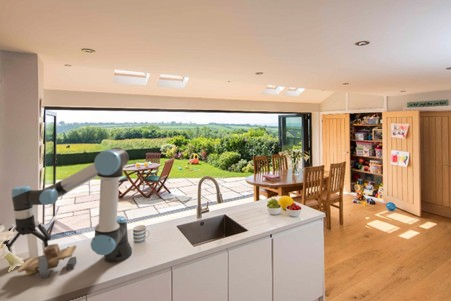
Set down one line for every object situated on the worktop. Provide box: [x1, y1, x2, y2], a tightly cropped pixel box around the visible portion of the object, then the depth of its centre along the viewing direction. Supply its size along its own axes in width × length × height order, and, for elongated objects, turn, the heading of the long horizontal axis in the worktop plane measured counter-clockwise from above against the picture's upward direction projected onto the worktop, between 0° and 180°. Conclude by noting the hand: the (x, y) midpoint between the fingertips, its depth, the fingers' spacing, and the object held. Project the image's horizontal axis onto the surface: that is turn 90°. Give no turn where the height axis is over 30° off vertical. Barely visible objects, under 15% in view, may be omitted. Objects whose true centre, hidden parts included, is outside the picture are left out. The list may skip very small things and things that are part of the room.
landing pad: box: [66, 256, 77, 271], centre depth 136 cm, size 3×7×4 cm, turn 18°
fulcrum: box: [38, 243, 55, 280], centre depth 132 cm, size 4×15×11 cm, turn 19°
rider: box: [44, 243, 61, 259], centre depth 132 cm, size 5×5×5 cm
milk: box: [26, 220, 45, 259], centre depth 145 cm, size 6×6×22 cm
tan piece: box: [17, 245, 77, 276], centre depth 132 cm, size 24×11×9 cm, turn 107°
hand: (29, 255), depth 129 cm, fingers open, 13 cm apart
